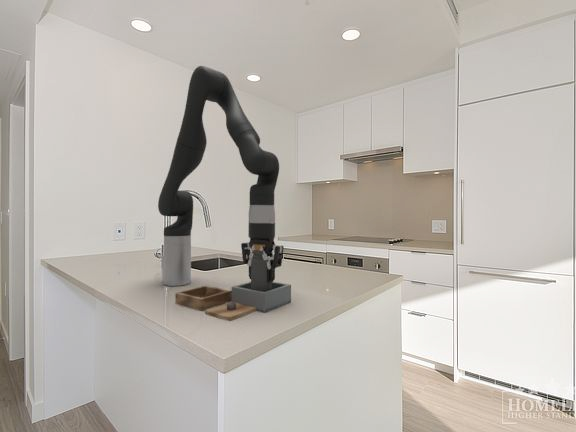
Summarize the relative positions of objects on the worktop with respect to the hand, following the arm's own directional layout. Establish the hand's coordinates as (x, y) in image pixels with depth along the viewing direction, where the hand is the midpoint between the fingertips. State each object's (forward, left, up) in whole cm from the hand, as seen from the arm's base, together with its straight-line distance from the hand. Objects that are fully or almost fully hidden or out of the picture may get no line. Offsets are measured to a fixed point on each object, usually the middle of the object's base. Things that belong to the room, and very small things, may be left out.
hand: (261, 280), depth 90 cm
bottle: (0, 0, -5) cm, 5 cm away
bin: (0, 0, -7) cm, 7 cm away
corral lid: (-1, -10, -7) cm, 12 cm away
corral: (-14, -9, -7) cm, 18 cm away
